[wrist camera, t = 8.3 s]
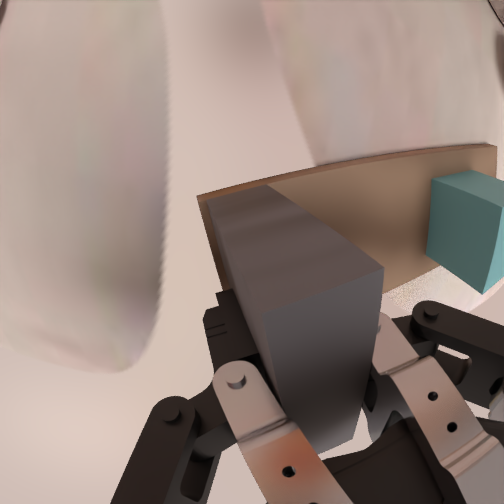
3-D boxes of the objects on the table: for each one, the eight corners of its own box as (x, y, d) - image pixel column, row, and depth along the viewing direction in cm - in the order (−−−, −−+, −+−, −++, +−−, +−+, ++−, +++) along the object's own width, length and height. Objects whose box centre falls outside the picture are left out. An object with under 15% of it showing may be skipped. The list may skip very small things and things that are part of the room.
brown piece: (196, 195, 11) (242, 319, 4) (487, 143, 15) (568, 172, 8) (237, 336, 15) (287, 466, 8) (479, 233, 18) (546, 274, 11)
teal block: (431, 178, 13) (502, 207, 9) (472, 169, 14) (530, 192, 9) (425, 255, 15) (482, 294, 11) (465, 235, 16) (515, 265, 12)
